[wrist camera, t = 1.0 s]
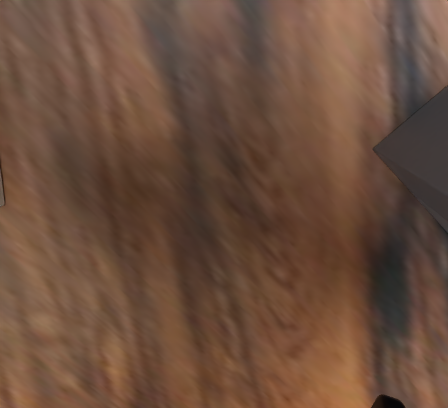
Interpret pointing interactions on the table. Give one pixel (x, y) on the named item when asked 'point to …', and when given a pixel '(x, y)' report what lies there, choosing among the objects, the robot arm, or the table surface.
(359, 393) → the table surface
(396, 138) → the grey box
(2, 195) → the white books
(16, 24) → the table surface
